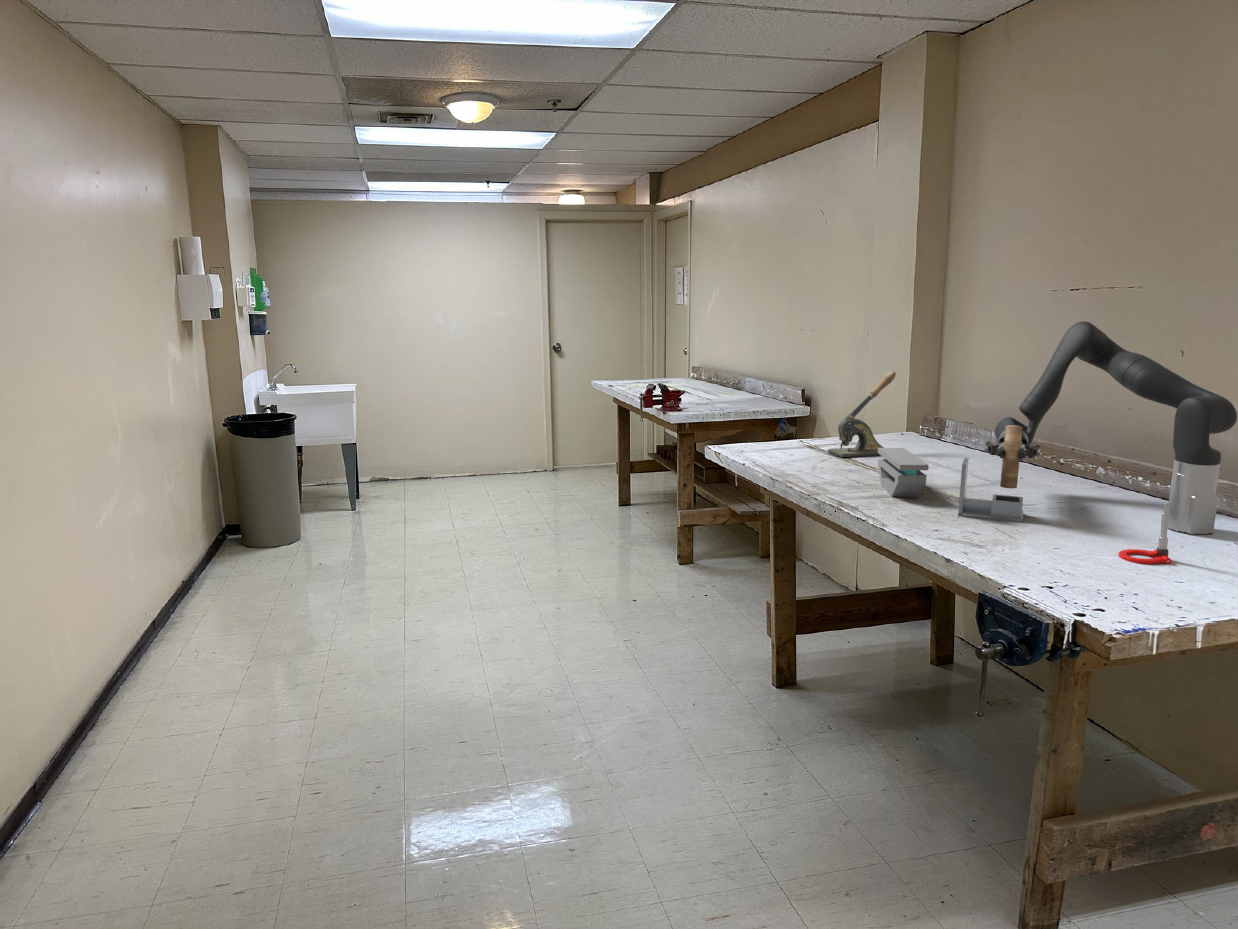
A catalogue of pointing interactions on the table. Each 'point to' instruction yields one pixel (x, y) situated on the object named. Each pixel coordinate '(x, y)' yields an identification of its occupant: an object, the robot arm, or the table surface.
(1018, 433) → the tan wooden cylinder
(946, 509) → the table surface
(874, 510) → the table surface
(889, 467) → the grey lidded box
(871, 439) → the embossing press
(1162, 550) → the tow hook
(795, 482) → the table surface
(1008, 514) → the bracket
